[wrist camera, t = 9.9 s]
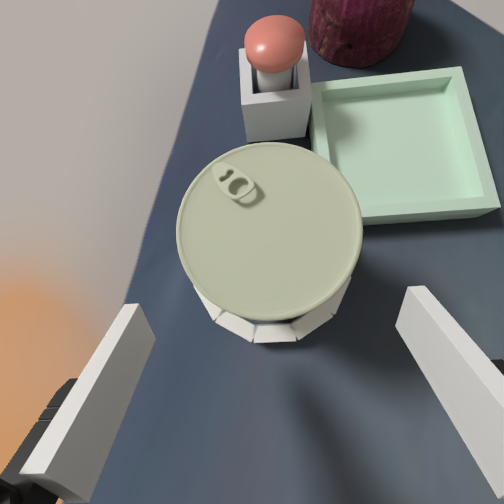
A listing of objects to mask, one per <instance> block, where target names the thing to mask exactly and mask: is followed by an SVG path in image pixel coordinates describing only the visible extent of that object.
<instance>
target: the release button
mask: <svg viewBox="0 0 504 504" xmlns="http://www.w3.org/2000/svg"><path fill="white" fill-rule="evenodd" d="M304 42H305V33H304V30H303V28H302V26H301V25H300V24H299V23H298V22H297V21H296V20H294V19H292V18H290V17H287V16H282V15H272V16H267V17H264V18H262V19H260V20H258V21H256V22H255V23H254V24H253V25H252V26H251V27H250V28H249V29H248V31H247V33H246V35H245V52H246V57H247V60H248V62H249V63H250V64H251V65H252V66H253V67H254V68H255V69H257V80H258V93H267V92H276V91H285V90H290V84H291V72H292V67H293V66H294V65H296V64H297V63H298V61H299V60H300V59H301V57H302V54H303V50H304Z"/></svg>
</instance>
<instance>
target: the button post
mask: <svg viewBox="0 0 504 504" xmlns="http://www.w3.org/2000/svg"><path fill="white" fill-rule="evenodd" d="M239 63H240V84H241V104H242V111H243V118H244V124H245V131H246V137H247V143H248V142H258V141H268V140H279V139H289V138H299V137H305V134H306V128H307V123H308V118H309V113H310V107H311V102H312V90H311V82H310V73H309V65H308V57H307V49H306V41H305V42H304V50H303V54H302V57H301V59H300V60H299V61H298V63H297V64H296V65H294V66H293V67H292V72H291V84H290V90H285V91H276V92H267V93H258V80H257V69H255V68H254V67H253V66H252V65H251V64H250V63H249V62H248V60H247V57H246V52H245V48H244V49H239Z"/></svg>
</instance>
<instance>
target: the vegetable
mask: <svg viewBox="0 0 504 504" xmlns="http://www.w3.org/2000/svg"><path fill="white" fill-rule="evenodd" d="M414 1H415V0H312V4H311V9H310V17H309V29H308V40H307V41H308V42H309V43H310V45H311V47H312V48H313V49H314V50H315V51H316V52H317V53H318V54H319V55H320V56H321V57H322V58H324V59H325V60H326V61H328V62H330V63H332V64H335V65H341V66H345V67H356V68H364V67H368V66H371V65H373V64H376V63H378V62H379V61H381V60H383V59H384V58H386V57H387V56H388V55H390V54H391V53H392V52H393V51H394V49H395V48H396V46H397V45H398V43H399V41H400V39H401V37H402V35H403V33H404V31H405V28H406V26H407V23H408V20H409V18H410V15H411V12H412V8H413V5H414Z"/></svg>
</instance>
